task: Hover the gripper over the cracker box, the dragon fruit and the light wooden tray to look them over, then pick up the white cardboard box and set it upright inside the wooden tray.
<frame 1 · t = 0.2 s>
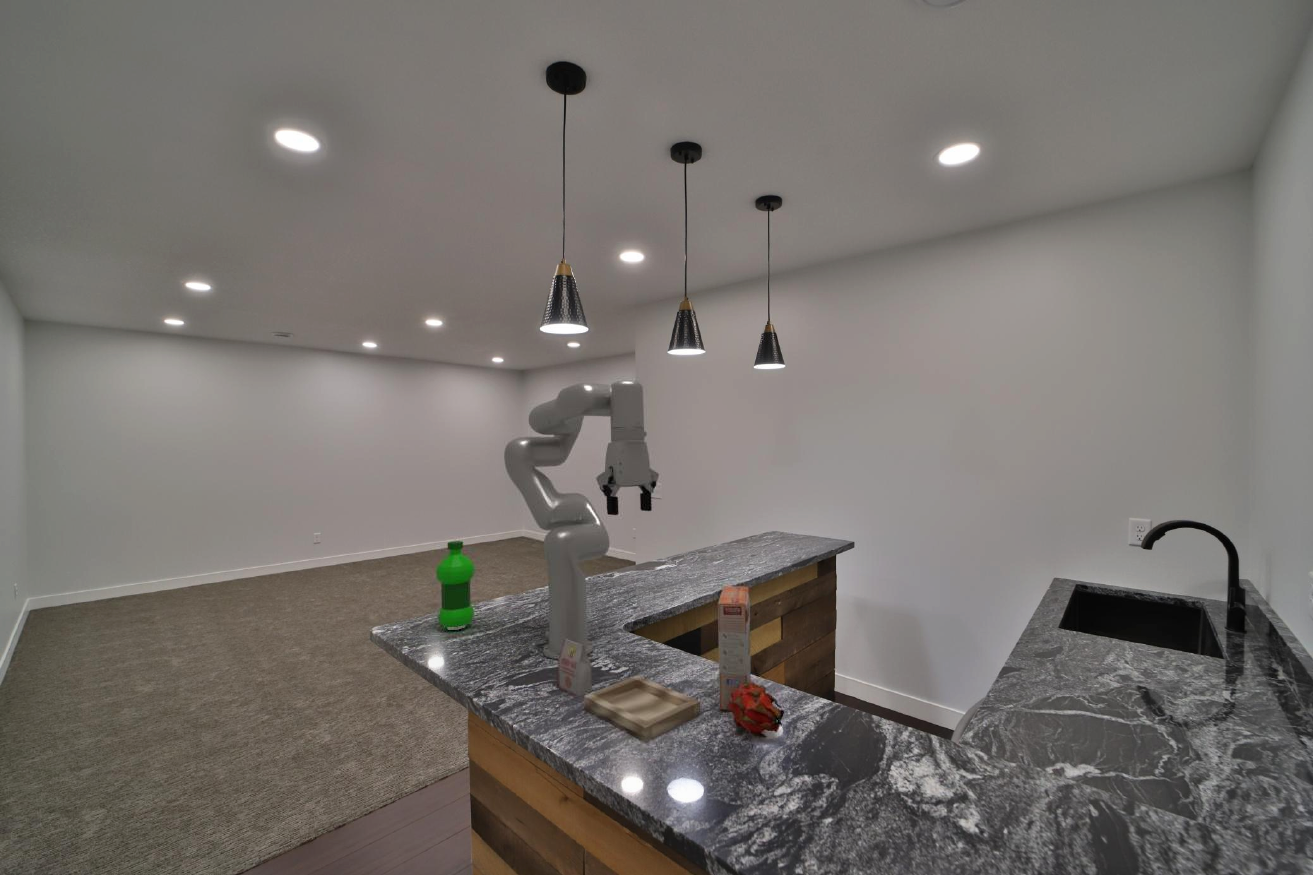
hand: (629, 512, 125), 37 cm above the counter, tool pointing down, fingers open, 9 cm apart
white cardboard box: (574, 690, 119), on the counter
wooden tray: (641, 711, 108), on the counter
dragon fruit: (756, 730, 100), on the counter
cracker box: (736, 697, 114), on the counter
plastic bottle: (456, 628, 163), on the counter
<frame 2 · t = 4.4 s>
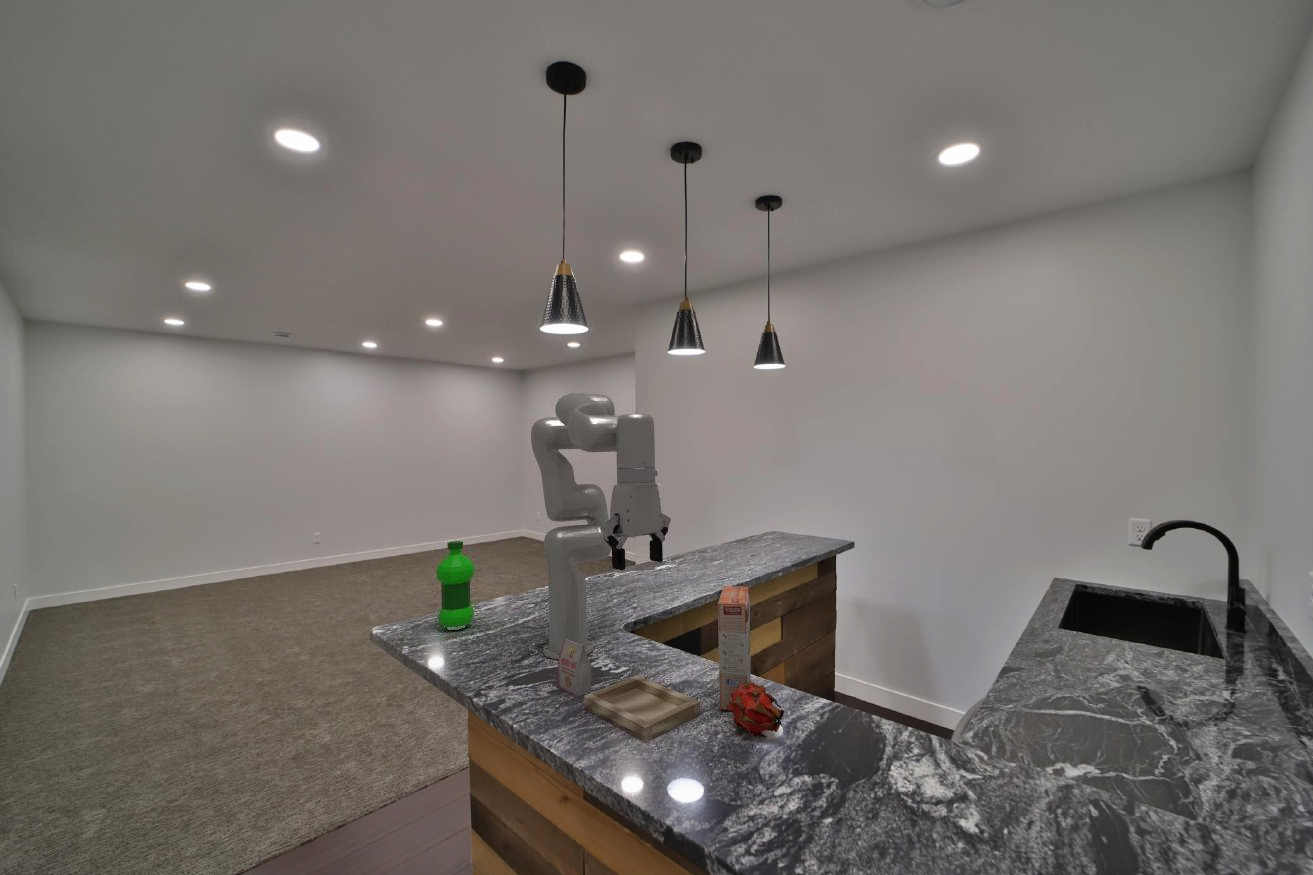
hand: (638, 565, 108), 28 cm above the counter, tool pointing down, fingers open, 9 cm apart
nothing on the counter moved.
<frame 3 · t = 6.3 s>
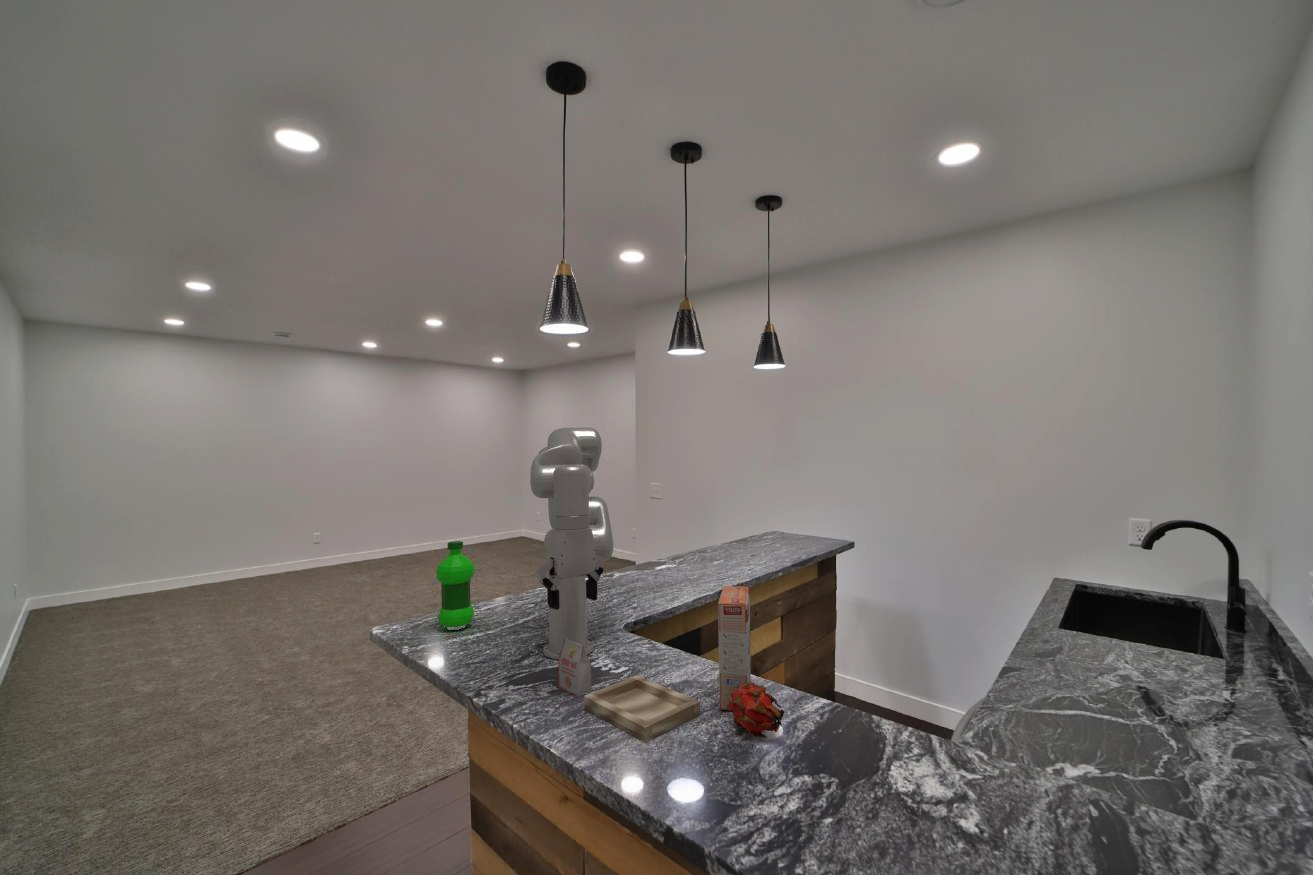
hand: (573, 603, 119), 18 cm above the counter, tool pointing down, fingers open, 9 cm apart
nothing on the counter moved.
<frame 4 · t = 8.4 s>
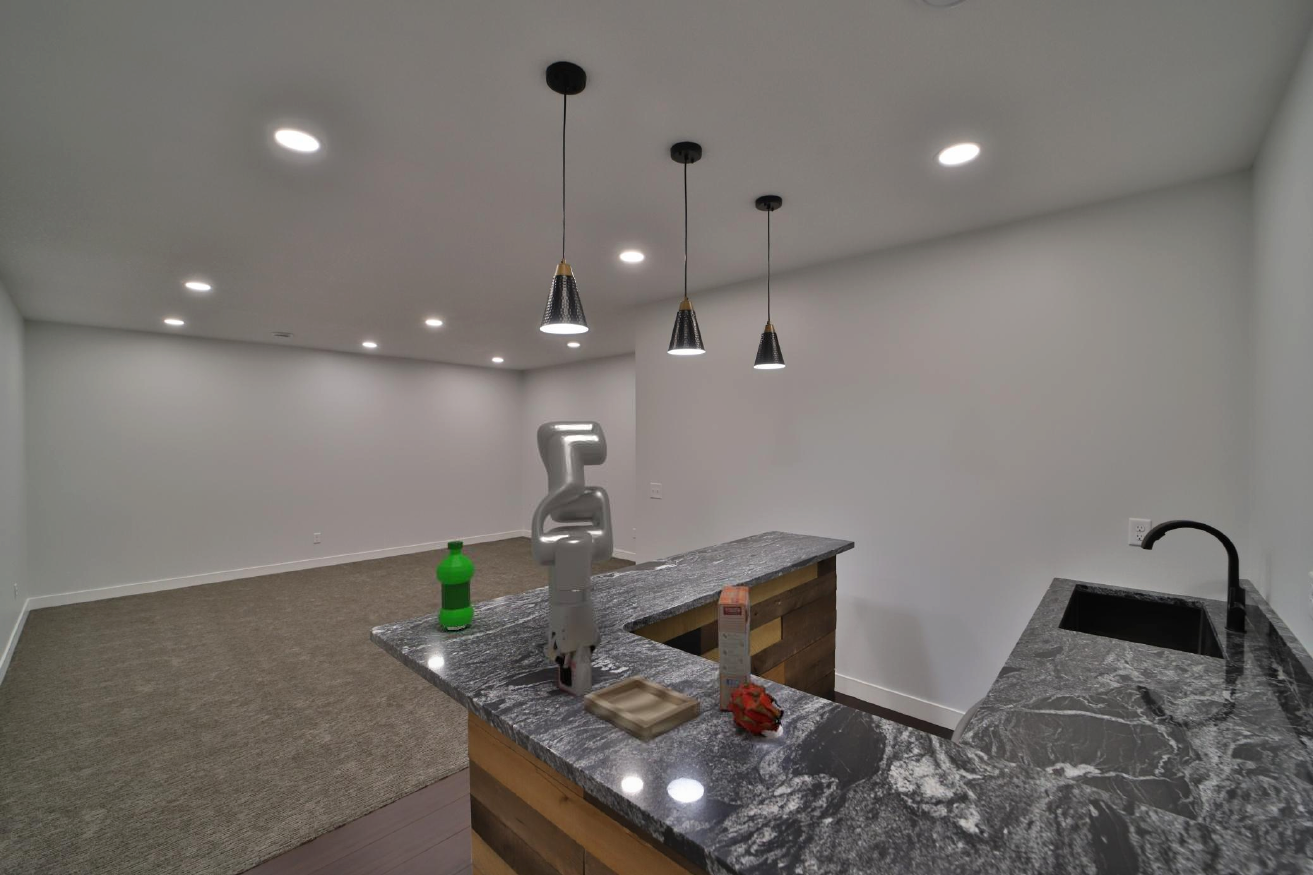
hand: (574, 680, 119), 2 cm above the counter, tool pointing down, fingers closed on white cardboard box, 3 cm apart
white cardboard box: (575, 690, 119), on the counter, touching gripper
everything else where it was.
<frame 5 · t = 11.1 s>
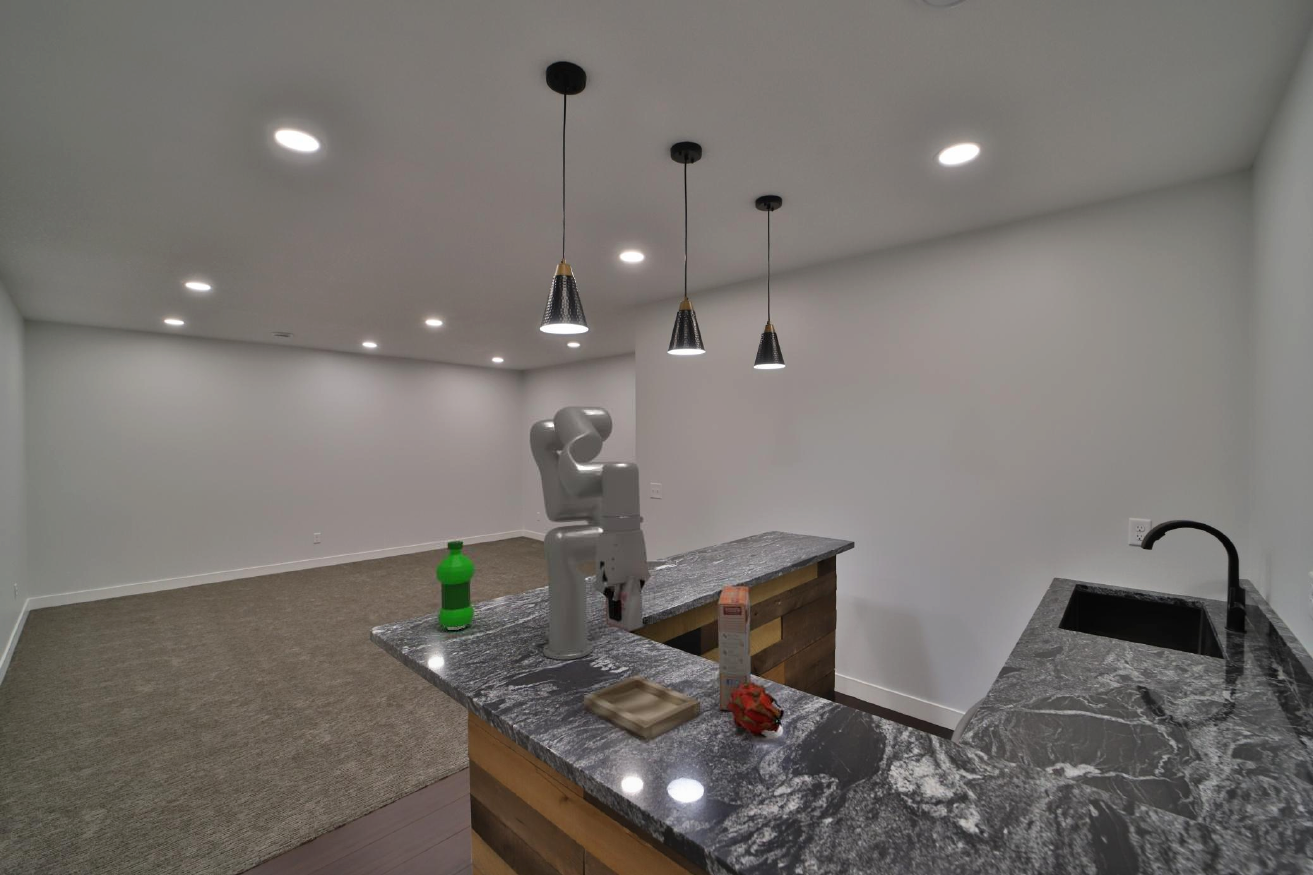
hand: (624, 616, 110), 18 cm above the counter, tool pointing down, fingers closed on white cardboard box, 3 cm apart
white cardboard box: (624, 626, 110), point 16 cm above the counter, touching gripper
everything else where it was.
when the fingers open (4 cm above the counter, at t = 14.2 s): white cardboard box drops 1 cm, resting on wooden tray.
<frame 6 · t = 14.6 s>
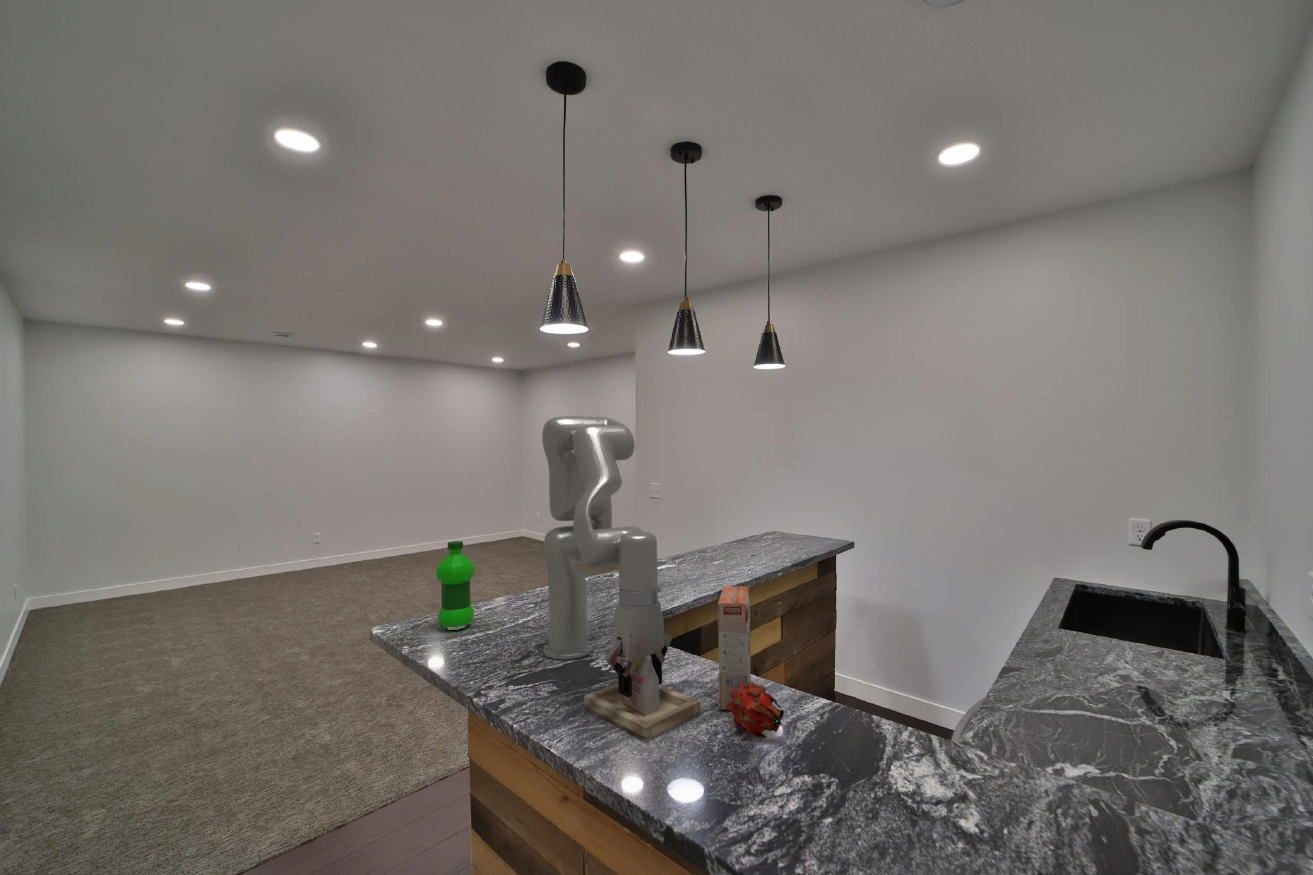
hand: (640, 687, 108), 5 cm above the counter, tool pointing down, fingers open, 7 cm apart
white cardboard box: (640, 708, 108), point 1 cm above the counter, touching wooden tray
everything else where it was.
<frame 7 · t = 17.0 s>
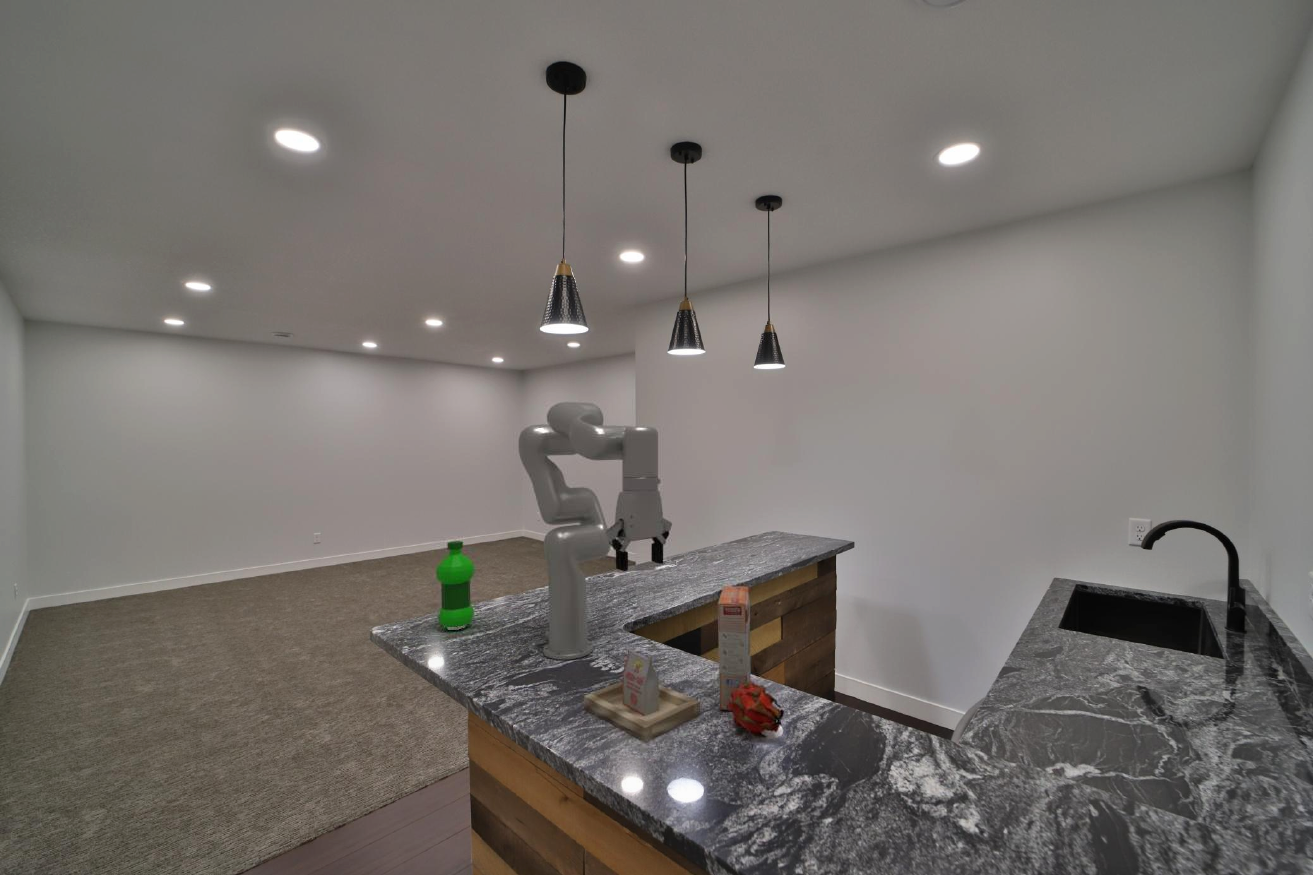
hand: (640, 566, 117), 26 cm above the counter, tool pointing down, fingers open, 9 cm apart
nothing on the counter moved.
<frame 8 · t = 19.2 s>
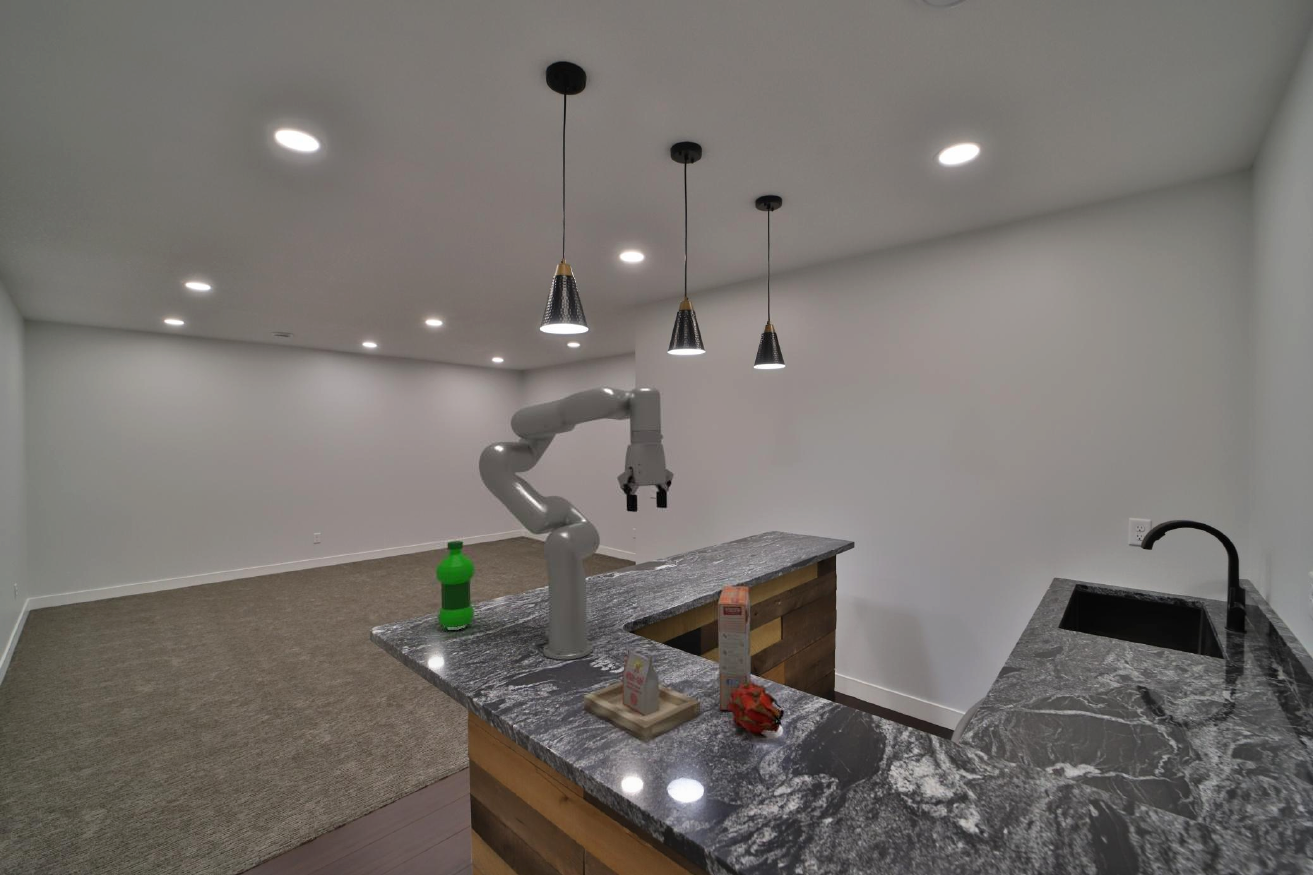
hand: (647, 509, 135), 36 cm above the counter, tool pointing down, fingers open, 9 cm apart
nothing on the counter moved.
at the end: white cardboard box inside the target area on the wooden tray (0.2 cm from its centre), point 0.6 cm above the wooden tray's base; white cardboard box tilted 0°; the gripper is holding nothing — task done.
